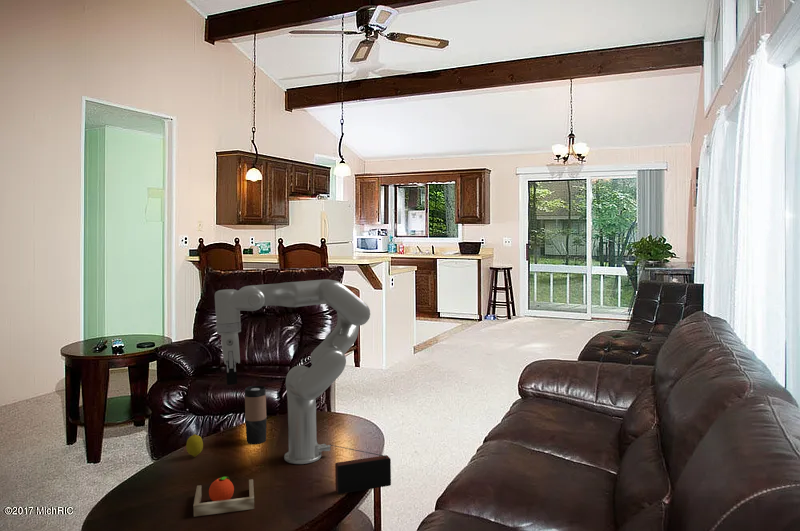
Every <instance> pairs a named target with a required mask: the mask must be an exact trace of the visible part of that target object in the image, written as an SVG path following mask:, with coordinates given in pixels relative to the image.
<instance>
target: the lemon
mask: <svg viewBox="0 0 800 531" xmlns="http://www.w3.org/2000/svg"><path fill="white" fill-rule="evenodd" d="M185 444H186V445H185V448H186V452H187V453H188V455H191V456H192V457H194V458H196V457H197V456H198V455H200V454H201V453H202V451H203V449H204V442H203V439H202V437H201V436H200V435H198V434H196V433H193V434H192V435H190V436H189V437H188V439H187V440H186V443H185Z"/></svg>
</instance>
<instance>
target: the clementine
mask: <svg viewBox="0 0 800 531" xmlns="http://www.w3.org/2000/svg"><path fill="white" fill-rule="evenodd" d="M234 491H235V486H234V484H233V482H232V481H231V480H230V477H229V476H221V477H218V478H216V479H215V480H214V481H213V482H212V483H211V484H210V486H209V489H208V496H209V499H210V500H211V502H213V501H221V500H229V499H232V497H233V496H234Z"/></svg>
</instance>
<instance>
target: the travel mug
mask: <svg viewBox="0 0 800 531" xmlns="http://www.w3.org/2000/svg"><path fill="white" fill-rule="evenodd" d="M266 393H267V391H266V386H264V385H251V386H250V385H249V386H247V387H245V389H244V410H245V411H244V415H245V416H244V418H245V420H244V421H245V436H246V443H247V444H249V445H261V444H264V443H265V442H266V441H267V396H266Z"/></svg>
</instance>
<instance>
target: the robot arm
mask: <svg viewBox="0 0 800 531" xmlns="http://www.w3.org/2000/svg"><path fill="white" fill-rule="evenodd" d="M317 305H319V306H320V305H329V306H330V307H331V308H332V309H333V310H334V311H336V313H337V314H336V315H337V322H336V326H335V327H334V329H333V330H332V331H331V333H330V334H329V335H328V336H326V337H325V339H324V340H323V341H321V342H320V344H319V345H318V346H316V347H315V348H314V349H313V351H312V352H311V354H310V357H309V358H310V360H309V361H310V363H311V366H310V367H309V366H305V365H296V366H293V367H292V368H291V369H290V370H288V373H287V374H286V377H285V390H286V391H285V392H286V397H287V398H286V399H287V423H288V424H287V425H288V433H287V434H288V435H287V436H288V451H287V452H285V453H284V454H283V455H284V456H283V458H284V461H285V462H287V463H289V464H294V465H304V464H305V465H306V464H312V463H315V462H317V461H319V460H320V459H321V457H322V452H330V451H331V450H332V449H331V446H330V445H331V444H326V443H322V444H320V443H318V441H317V439H318V437H317V402H316V399H317V398H319V397H320V396H321V395H323V393H324V392H326V390H327V389H328V388H329V387H330V386H332V384H333V383H334V382H335V381H336V380H337V379H338V378H339V377H340V376H341V375H342V373H343V372H344V370H345V368H346V364H347V359H346V358H347V357H346V355H345V354H346V353H347V352H348V351H349V349H350V348H351V347H352V346H353V345H354V344H355V342H356V340H357V338H358V336H359V331H360V326H364V325H365V324H366V323H368V322H369V319H370V318H371V310H370V307H369V305H368V304H367V302H365V301H364V300H362V298H360V297H359V296H358V295H356V294H355V293H354V292H353V291H352V290H350V289H349V288H348V287H347V286H345V285H344V284H343V282H340V281H338V280H333V279H323V278H322V279H315V280H314V279H312V280H305V281H304V280H301V281H289V282H288V281H287V282H280V283H269V284H268V283H266V284H257V285H256V284H252V285H245V286H242V287H241V288H239V290H237V289H234V288H232V289H230V288H229V289H228V288H227V289H219V290H217V291H215V293H214V307H215V308H214V310H215V321H216V322H215V324H216V334H217V335H220V339H221V342H220V343H221V351H222V352H221V353H222V357H223V362H224V365H226V372H225V374H226V375H225V376H226V385H227V386H231V385H232V386H233V385H238V370H237V367H236V366H237V365H236V364H237V363H238V364H240V363H241V356H240V352H241V351H240V340H239V333H241V332H242V327H241V326H242V324H241V311H247V312H254V311H258V310H260V309H262V308H263V307H267V306H270V307H271V306H274V307H275V306H276V307H284V308H285V307H286V308H299V307H307V306H317Z"/></svg>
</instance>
